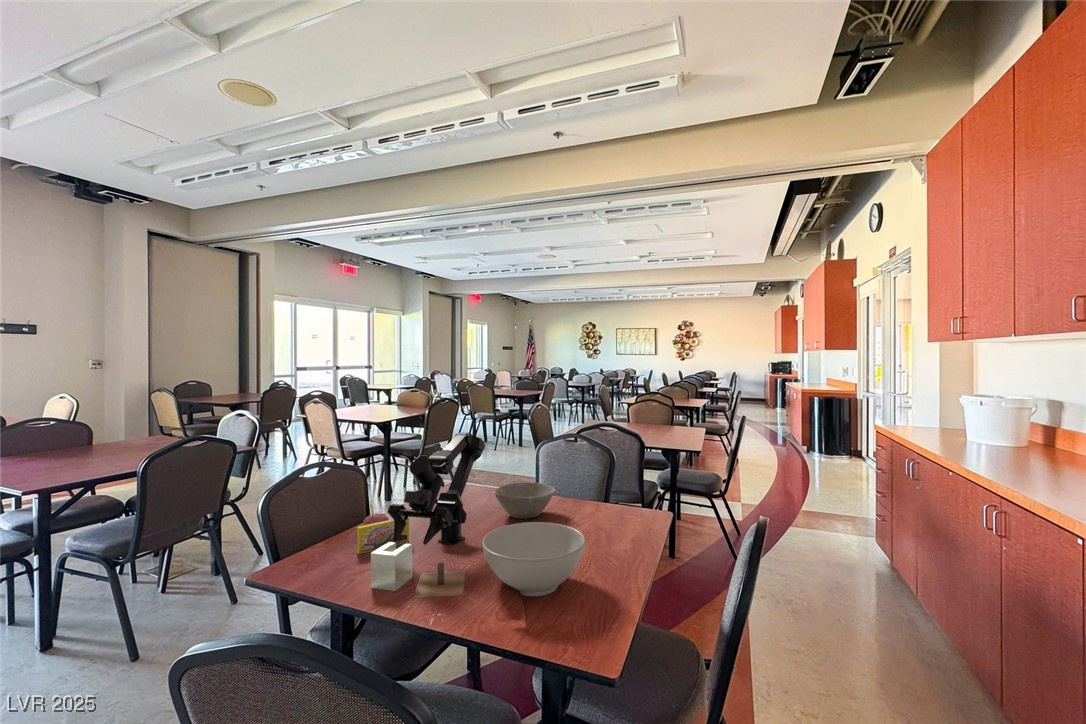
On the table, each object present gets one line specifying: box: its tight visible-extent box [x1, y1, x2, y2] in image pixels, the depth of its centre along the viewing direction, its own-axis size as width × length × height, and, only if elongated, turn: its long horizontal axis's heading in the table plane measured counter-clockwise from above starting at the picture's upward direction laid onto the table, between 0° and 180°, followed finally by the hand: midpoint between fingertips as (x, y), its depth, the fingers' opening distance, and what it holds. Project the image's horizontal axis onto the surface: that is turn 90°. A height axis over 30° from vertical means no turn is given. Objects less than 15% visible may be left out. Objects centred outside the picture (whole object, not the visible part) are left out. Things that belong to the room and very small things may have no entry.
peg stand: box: [412, 562, 467, 599], centre depth 123 cm, size 14×12×6 cm
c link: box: [370, 542, 413, 592], centre depth 124 cm, size 8×7×10 cm
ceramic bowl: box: [494, 482, 556, 520], centre depth 181 cm, size 22×23×10 cm
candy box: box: [356, 517, 410, 555], centre depth 151 cm, size 16×2×8 cm, turn 128°
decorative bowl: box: [481, 521, 586, 597], centre depth 123 cm, size 27×27×12 cm
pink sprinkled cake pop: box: [362, 500, 390, 526], centre depth 163 cm, size 9×8×12 cm
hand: (409, 543), depth 132 cm, fingers open, 9 cm apart
